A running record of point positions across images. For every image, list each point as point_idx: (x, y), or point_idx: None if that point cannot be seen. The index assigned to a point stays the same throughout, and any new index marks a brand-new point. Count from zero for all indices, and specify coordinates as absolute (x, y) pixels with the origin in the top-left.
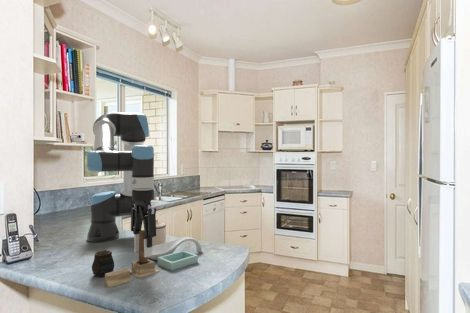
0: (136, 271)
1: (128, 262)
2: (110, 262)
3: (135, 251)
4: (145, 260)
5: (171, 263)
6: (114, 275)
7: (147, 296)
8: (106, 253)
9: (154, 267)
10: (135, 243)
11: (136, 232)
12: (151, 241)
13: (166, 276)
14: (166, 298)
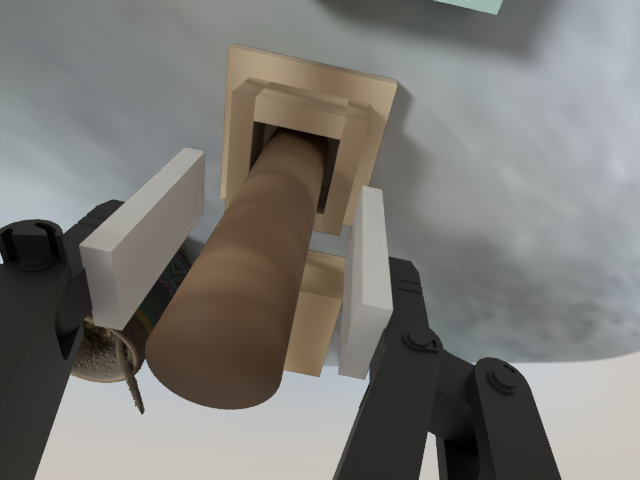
0: None
1: (33, 48)
2: (166, 303)
3: (198, 218)
4: (321, 184)
5: (495, 13)
6: (324, 357)
7: (531, 311)
8: None
9: (368, 111)
10: (168, 261)
11: (77, 320)
12: (420, 313)
13: (482, 93)
14: (635, 291)
